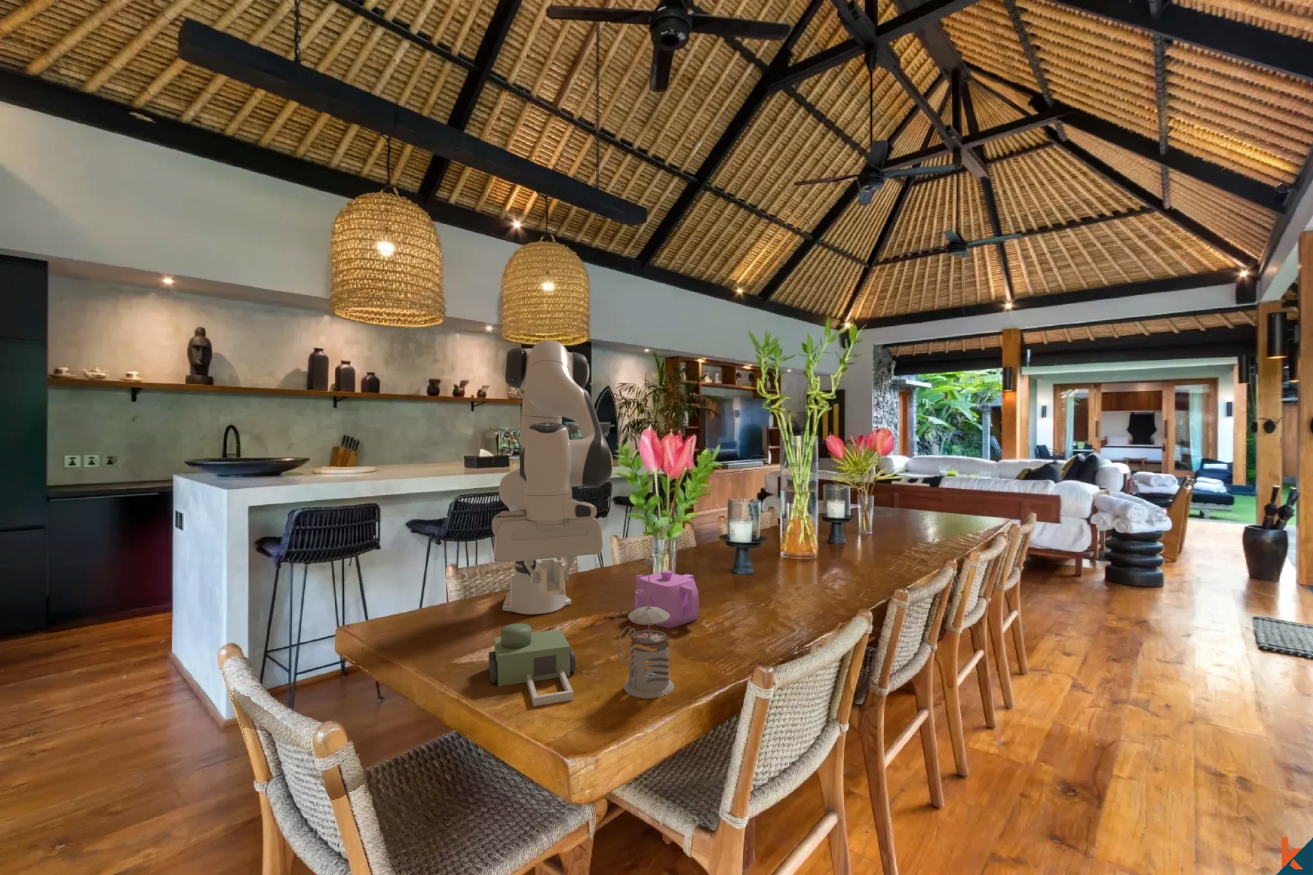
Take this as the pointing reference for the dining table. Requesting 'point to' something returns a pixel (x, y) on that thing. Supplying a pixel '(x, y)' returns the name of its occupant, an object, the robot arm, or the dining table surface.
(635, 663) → the french press
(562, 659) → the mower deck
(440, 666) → the dining table surface
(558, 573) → the slotted cream stand
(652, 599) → the teakettle
